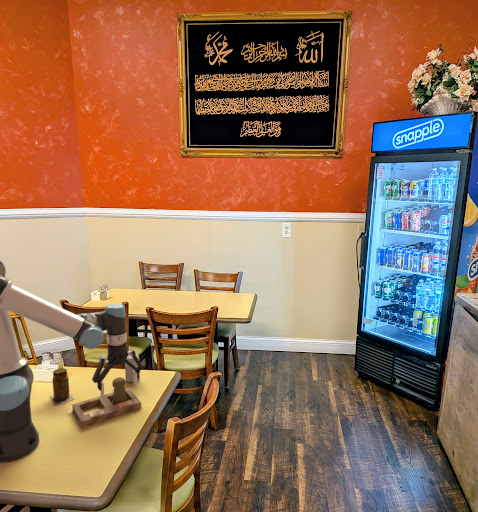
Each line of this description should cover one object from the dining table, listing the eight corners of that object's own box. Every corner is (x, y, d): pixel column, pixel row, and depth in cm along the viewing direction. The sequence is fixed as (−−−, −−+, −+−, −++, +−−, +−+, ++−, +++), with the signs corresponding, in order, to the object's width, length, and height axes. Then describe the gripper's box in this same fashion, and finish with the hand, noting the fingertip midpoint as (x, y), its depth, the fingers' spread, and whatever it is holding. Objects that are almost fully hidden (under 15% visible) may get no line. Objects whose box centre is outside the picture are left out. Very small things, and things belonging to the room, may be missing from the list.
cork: (123, 408, 155) (122, 383, 153) (109, 406, 156) (108, 381, 154) (130, 400, 161) (129, 376, 159) (116, 399, 162) (115, 374, 160)
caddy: (81, 428, 143) (81, 420, 142) (72, 410, 154) (72, 403, 153) (141, 407, 156) (141, 401, 155) (128, 392, 167) (128, 386, 167)
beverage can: (137, 383, 175) (136, 358, 173) (123, 383, 175) (122, 358, 173) (141, 376, 181) (140, 352, 179) (128, 376, 181) (127, 352, 179)
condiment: (68, 391, 168) (66, 365, 166) (74, 399, 162) (72, 372, 159) (50, 396, 163) (47, 370, 161) (55, 405, 157) (53, 378, 155)
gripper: (87, 353, 144) (90, 405, 148) (150, 338, 158) (151, 386, 162) (81, 346, 150) (85, 396, 154) (143, 332, 164) (144, 379, 168)
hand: (119, 391), depth 158 cm, fingers open, 13 cm apart
